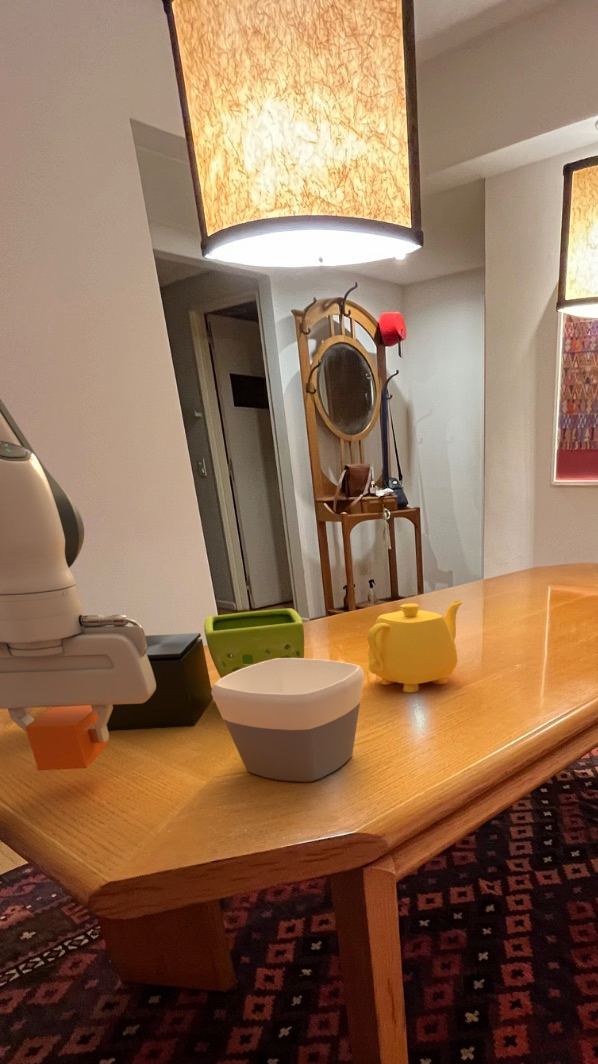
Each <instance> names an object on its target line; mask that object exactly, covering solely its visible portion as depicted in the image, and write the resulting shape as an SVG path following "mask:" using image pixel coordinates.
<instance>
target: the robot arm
mask: <svg viewBox="0 0 598 1064" xmlns="http://www.w3.org/2000/svg"><path fill="white" fill-rule="evenodd" d="M20 428H21V427H19V425H18V423H17V422H16V421H15V419H14V417H13V415H12V414H11V413H10V411H9V410H8V408H7V406H6V405H5V403H4V402H3V400H2V399H1V398H0V710H7V711H8V714H9V717H10V719H11V720H12V721H13V722H14V723H15V724H16V725H17V726H18V727H19V728H21V730H23V732H26V729H25V727H26V726H27V725H29V724H30V723H31V722H33V721H34V720H35V718H34V717H33V716H31V714H30V713H32V711H33V709H34V708H37V709H38V708H52V707H63V706H88V705H91V707H92V711H93V714H99V716H98V719H97V722H96V724H93V725H92V726H91V727H90V728H89V729H87V730H88V734H89V736H90V741H91V743H105V742H106V741H109V739H110V734H109V731H108V729H107V725H106V724H107V723H108V720H109V717H110V715H111V712H112V710H113V704H139V703H144V702H146V701H147V700H148V699H149V698H150V697H151V696H152V695H153V693H154V692H155V690H156V682H155V678H154V674H153V671H152V668H151V665H150V662H149V659H148V657H147V654H146V650H147V643H146V638H145V636H146V634H145V630H144V627H142V626H141V624H140V623H138V622H137V621H136V620H134V619H131V618H128V617H127V616H126V615H124V614H113V615H88V614H87V615H85V614H84V610H83V606H82V603H81V598H80V593H79V590H78V586H77V582H76V579H75V577H74V574H73V573H72V571H71V570H70V568H71V567H72V565H74V563H75V562H76V560H77V559H78V557H79V555H80V553H81V550H82V548H83V545H84V540H85V526H84V521H83V517H82V515H81V513H80V511H79V509H78V507H77V506H76V504H75V502H74V501H73V499H72V498H71V496H69V494H68V493H67V492H66V491H65V489H64V488H63V487H62V486H61V484H59V482H58V481H57V480H56V479H55V477H53V475H52V474H51V473H50V472H49V471H48V469H47V468H46V466H45V465H44V464H43V462H42V461H41V459H40V458H39V457H38V455H37V453H36V452H35V450H34V449H33V447H32V445H31V444H30V442H29V441H28V439H27V438H26V436H25V434H24V433H23V431H22V430H21V429H20ZM26 733H27V732H26Z"/></svg>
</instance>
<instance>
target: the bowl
mask: <svg viewBox="0 0 598 1064" xmlns="http://www.w3.org/2000/svg"><path fill="white" fill-rule="evenodd" d="M364 680H365V671H364V669H363V668H362V667H361V665H358V664H356V663H351V662H345V661H339V660H332V659H321V658H306V657H304V658H276V659H272V660H268V661H263V662H260V663H257V664H254V665H251V666H248V667H245V668H242V669H240V670H237V671H235V672H233V673H231V674H228V675H226V676H224V677H223V678H221V677H220V678H219V679H218V680H216V682H214V684H213V686H212V687H211V689H212V691H211V694H212V696H213V701H214V702H215V704H216V707H217V709H218V711H219V713H220V716H221V718H222V720H223V722H224V724H225V726H226V729H227V730H228V733H229V735H230V737H231V739H232V741H233V743H234V745H235V748H236V751H237V752H238V755H239V757H240V759H241V761H242V763H243V765H244V768H245V770H246V771H247V772H250V773H251V774H254V775H257V776H259V777H263V778H267V779H271V780H277V781H285V782H300V783H310V782H314V781H318V780H319V779H321V778H324V777H326V776H328V775H330V774H332V773H334V772H335V771H336V770H339V769H340V768H341V767H342V766H343V765H345V764H346V763H347V762H348V760H349V759H350V758H351V757H352V756H353V754H354V748H355V747H354V746H355V741H356V733H357V728H358V727H357V726H358V719H359V712H360V707H361V701H362V694H363V687H364Z"/></svg>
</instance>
